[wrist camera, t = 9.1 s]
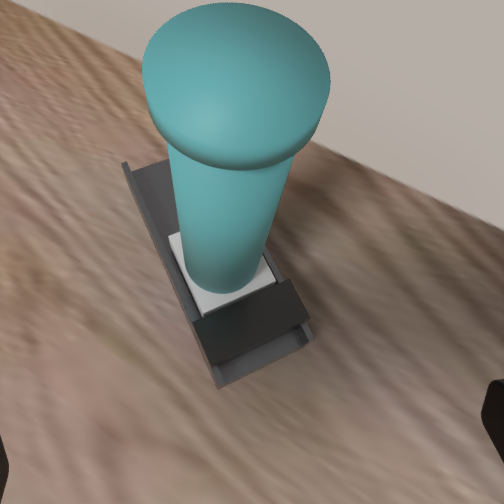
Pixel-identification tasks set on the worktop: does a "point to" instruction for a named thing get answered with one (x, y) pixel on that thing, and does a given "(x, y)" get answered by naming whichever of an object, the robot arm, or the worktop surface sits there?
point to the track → (233, 316)
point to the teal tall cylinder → (231, 135)
